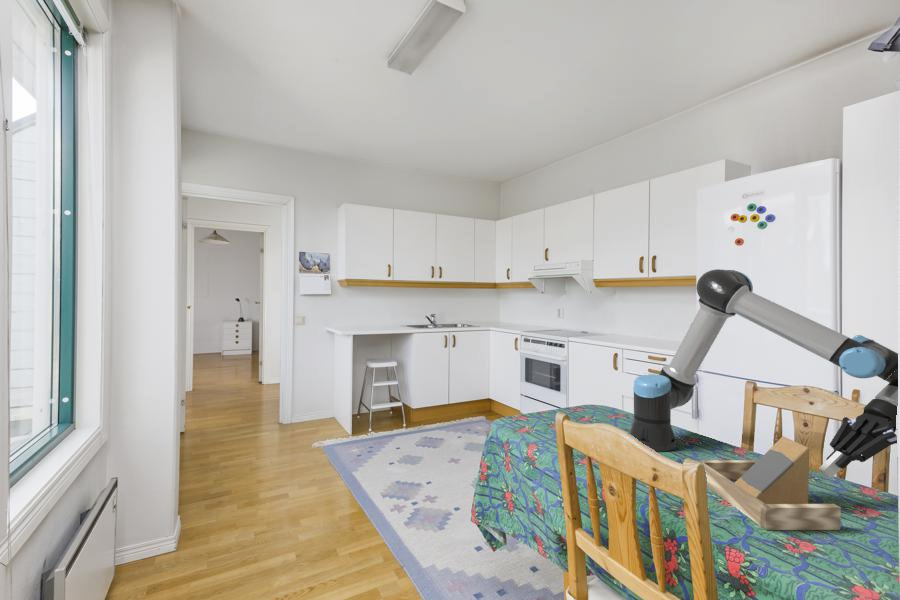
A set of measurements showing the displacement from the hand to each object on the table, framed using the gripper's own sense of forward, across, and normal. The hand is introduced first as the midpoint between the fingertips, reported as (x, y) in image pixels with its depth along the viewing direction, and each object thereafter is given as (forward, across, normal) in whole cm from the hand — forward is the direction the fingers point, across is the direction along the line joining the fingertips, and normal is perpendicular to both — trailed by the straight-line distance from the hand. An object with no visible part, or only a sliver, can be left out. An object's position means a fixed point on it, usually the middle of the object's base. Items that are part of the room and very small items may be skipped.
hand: (824, 473), depth 105 cm
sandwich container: (+15, +1, +5) cm, 16 cm away
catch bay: (+17, 0, +7) cm, 18 cm away
